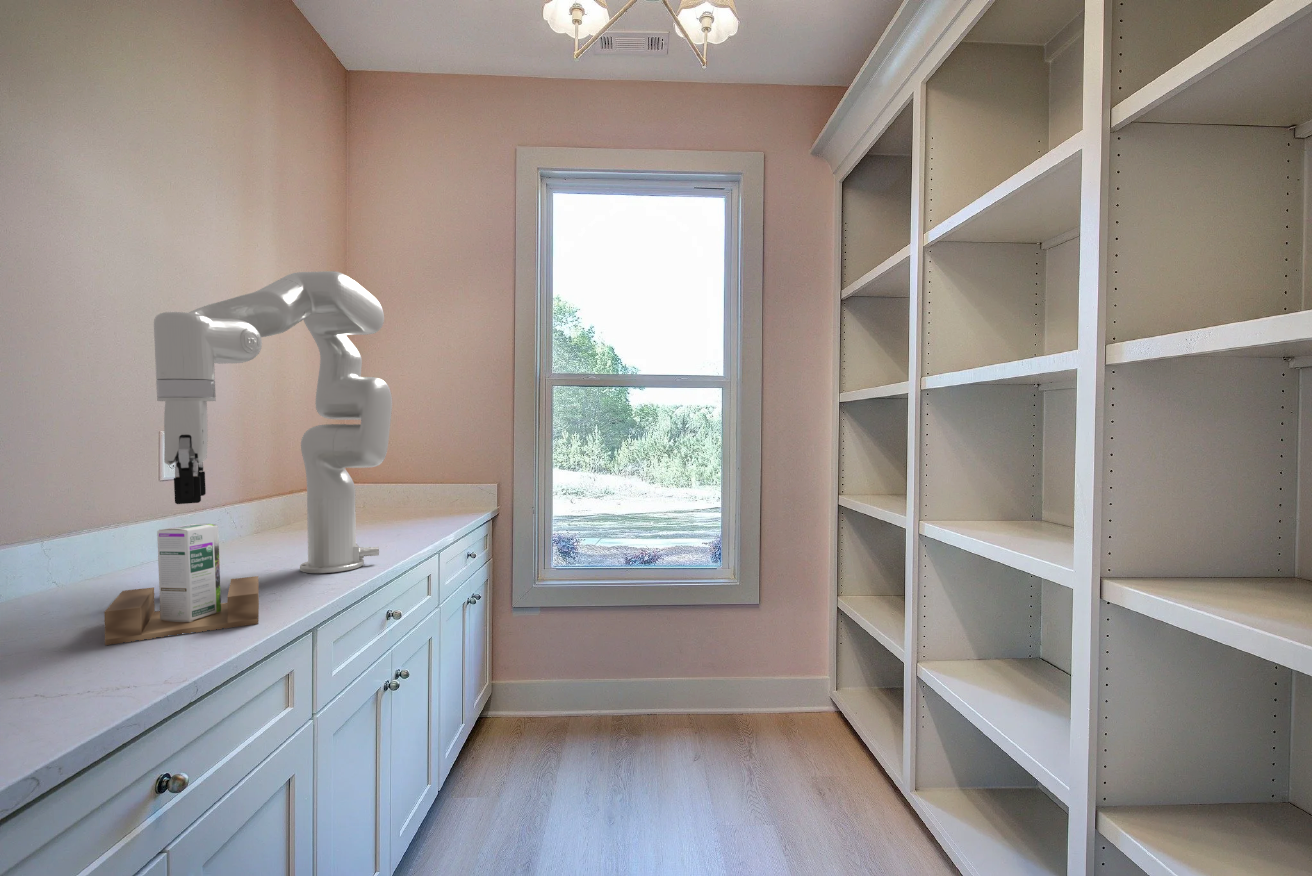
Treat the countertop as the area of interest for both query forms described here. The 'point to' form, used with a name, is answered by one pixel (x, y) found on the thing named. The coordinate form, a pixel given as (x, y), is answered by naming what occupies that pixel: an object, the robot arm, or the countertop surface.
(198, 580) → the syrup box
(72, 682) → the countertop surface
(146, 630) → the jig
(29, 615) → the countertop surface
